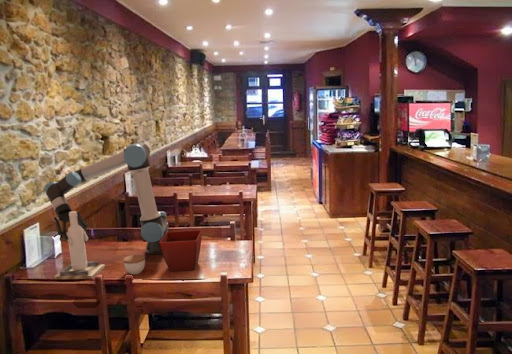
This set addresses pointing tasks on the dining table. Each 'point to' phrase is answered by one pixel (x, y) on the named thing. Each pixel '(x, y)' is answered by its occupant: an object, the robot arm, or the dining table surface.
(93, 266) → the shallow rectangular tray
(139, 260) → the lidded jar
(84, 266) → the bottle
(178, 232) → the plant pot
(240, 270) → the dining table surface
